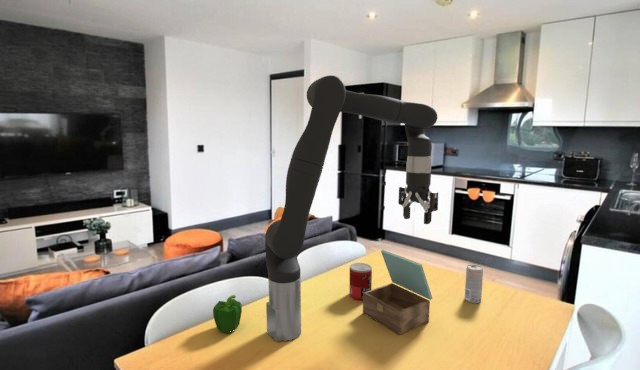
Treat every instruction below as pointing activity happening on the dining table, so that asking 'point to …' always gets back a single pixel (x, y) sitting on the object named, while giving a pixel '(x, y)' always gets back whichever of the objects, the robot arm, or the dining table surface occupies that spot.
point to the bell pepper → (227, 314)
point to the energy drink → (473, 283)
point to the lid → (407, 274)
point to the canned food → (360, 280)
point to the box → (396, 308)
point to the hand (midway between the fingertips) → (416, 221)
